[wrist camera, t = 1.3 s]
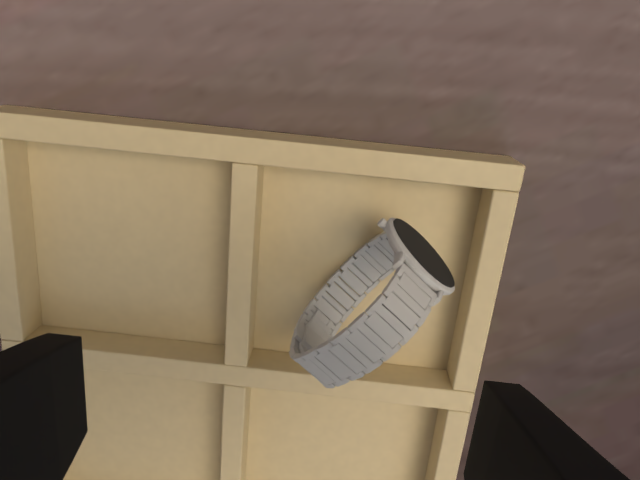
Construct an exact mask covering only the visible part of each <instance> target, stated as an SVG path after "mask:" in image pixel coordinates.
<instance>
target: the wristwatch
mask: <svg viewBox="0 0 640 480" xmlns="http://www.w3.org/2000/svg"><path fill="white" fill-rule="evenodd" d="M377 225H378V226H379V227H380V228H382V229H383V230H384V232H382V233H381V234H378V235H377V236H375V237H374V238H372V239H371V240H369V242H368V243H365V244H364V245H363V246H362V247H360V248H359V249H358V250H357V251H356V252H355V253H354V256H355V257H354V256H353V255H352V256H351V257H349V258H348V259H347V260H346V261H345V262H344V263H343V264H342V265H341V266H340V269H341V270H342V272H341V271H340V270H339V269H338V270H337V271H336V272H335V273H334V274H333V275H332V276H331V277H330V278H329V279H328V281H327V282H326V283H328V284H329V286H328V285H327V284H324V285H323V286H322V288H321V289H320V290H319V291H318V292H317V293H316V295H315V296H314V298H315V299H316V300H315V299H312V300H311V301H310V302H309V304H308V305H307V306H306V308H305V309H304V311H303V314H302V315H301V316H300V318H299V320H298V322H297V324H296V327H295V328H294V333H293V337H292V340H291V344H290V351H289V355H290V357H291V358H292V359H293V360H294V361H295V362H297V363H298V364H300V365H301V366H302V367H303V368H304V369H305V370H307V371H308V372H309V373H310V374H311V375H312V376H314V377H315V378H316V379H317V380H318V381H319V382H320V383H321V384H322V385H323V386H324V387H326V388H334V387H335V386H337V387H338V386H341V385H344V384H346V383H348V382H349V381H350V380H351V381H353V380H356V379H359V378H361V377H363V376H364V375H365V373H366V374H368V373H370V372H372V371H373V370H374V369H376V368H377V367H379V366H380V365H381V364H382V363H383V361H384V362H385V361H387V360H388V359H389V358H390V357H392V356H393V355H394V354H395V353H396V352H397V351H399V350H400V348H401V345H402V346H403V345H405V344H406V343H407V342H408V341H409V340H410V339H411V338H412V337H413V336H414V334H415V333H416V332H417V331H418V329H419V328H418V327H421V325H422V324H423V323H424V322H425V320H426V318H427V317H428V315H429V313H430V312H431V307H432V306H435V305H436V304H437V303H439V302H440V301H441V299H442V296H443V295H450V294H451V293H453V292H454V290H455V286H454V285H455V282H454V278H453V276H452V274H451V272H450V270H449V268H448V267H447V265H446V264H445V262H444V261H443V259H442V258H441V257H440V255H439V254H438V253H437V252H436V250H435V249H434V248H433V247H432V246H431V245H430V244H429V242H428V241H427V240H426V239H425V238H424V237H423V236H422V235H421V234H420V233H419V232H418V231H416V230H415V229H414V228H413V227H412V226H410V225H409V224H408V223H406V222H405V221H403V220H401V219H398V218H390V219H389V220H388V221H386V220H385V219H384V218H382V219H381V220H380V221H379V222H378V223H377ZM394 270H396V271H395V273H394V276H392V278H391V279H390V281H389V282H388V284H387V285H386V287H385V288H384V290H383V291H382V294H383V295H382V294H380V295H379V296H378V297H377V298H376V299H375V300H374V301H373V302H372V303H371V305H370V306H369V307H368V308H367V309H366V310H365V312H366V313H367V314H368V315H367V314H366V313H365V312H363V313H361V314H360V315H359V316H358V317H357V318H356V319H355V320H354V321H353V322H352V323H350V324H349V325H348V328H347V327H346V328H344V329H343V330H342V331H340V332H339V333H338V334H336V333H337V331H338V330H339V328H340V326H341V325H342V323H343V322H344V321H345V320H346V319H347V317H348V316H349V315H350V314H351V313H352V311H353V310H354V309H353V308H352V307H351V306H353V307H354V308H356V307H357V306H358V304H359V303H360V302H361V301H362V300H363V299H364V298H365V297H366V294H365V293H364V292H366V293H367V294H368V293H369V292H371V291H372V290H373V289H374V288H375V287H376V286H377V285H378V284H379V283H380V280H381V281H382V280H383V279H385V278H386V277H387V276H388V275H390V274H391V273H392V272H393V271H394ZM355 275H356V276H357V277H358V278H359V279H360V280H361V281H362V282H361V281H360V280H359V279H358V278H357V277H356V276H355ZM339 276H340V277H341V278H342V279H343V280H344V281H345V282H346V283H347V284H348V285H349V286H350V287H351V288H353V289H354V290H355V291H356V292H357V293H358V294H359V295H358V294H357V293H356V292H354V291H353V290H352V289H351V288H350V287H349V286H348V285H347V284H346V283H345V282H344V281H343V280H341V279H340V278H339ZM378 278H379V279H380V280H379V279H378ZM334 282H335V283H336V284H337V285H338V286H339V287H338V286H337V285H336V284H335V283H334ZM340 287H341V288H342V289H343V290H344V291H345V292H346V293H347V294H348V295H349V296H350V297H351V298H350V297H349V296H348V295H347V294H346V293H345V292H344V291H343V290H342V289H341V288H340ZM326 291H327V292H328V293H329V294H330V295H331V296H330V295H329V294H328V293H327V292H326ZM323 298H324V299H323ZM352 298H353V299H354V300H353V299H352ZM336 300H337V301H338V302H339V303H340V304H341V305H342V306H341V305H340V304H339V303H338V302H337V301H336ZM334 308H335V309H334ZM339 321H340V322H342V323H340V322H339ZM415 325H416V326H415ZM335 334H336V335H335ZM399 343H400V344H401V345H400V344H399Z"/></svg>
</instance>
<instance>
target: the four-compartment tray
mask: <svg viewBox="0 0 640 480" xmlns="http://www.w3.org/2000/svg"><path fill="white" fill-rule="evenodd" d="M524 171H525V166H524V165H523V164H521V163H520V162H518V161H516V160H515V159H513V158H512V157H511V156H504V155H494V154H484V153H474V152H465V151H455V150H445V149H435V148H425V147H416V146H406V145H396V144H386V143H376V142H367V141H357V140H347V139H337V138H327V137H317V136H308V135H298V134H288V133H278V132H268V131H259V130H249V129H239V128H229V127H219V126H210V125H200V124H190V123H180V122H170V121H161V120H151V119H141V118H131V117H121V116H111V115H102V114H92V113H82V112H72V111H62V110H53V109H43V108H33V107H23V106H13V105H1V106H0V336H1V339H2V340H1V346H2V351H3V350H5V349H7V348H10V347H12V346H15V345H17V344H19V343H22V342H24V341H27V340H29V339H32V338H35V337H37V336H40V335H43V334H46V333H54V334H63V335H72V336H81V337H82V352H83V367H84V382H85V397H86V413H87V428H88V431H87V433H86V435H85V438H84V440H83V442H82V444H81V446H80V448H79V450H78V452H77V454H76V456H75V458H74V460H73V462H72V464H71V465H70V467H69V469H68V471H67V473H66V475H65V477H64V479H63V480H456V477H457V472H458V468H459V463H460V459H461V454H462V450H463V445H464V441H465V436H466V432H467V427H468V423H469V418H470V412H471V410H472V405H473V401H474V396H475V390H476V386H477V381H478V377H479V372H480V368H481V363H482V359H483V354H484V350H485V345H486V341H487V336H488V332H489V327H490V323H491V318H492V314H493V309H494V305H495V300H496V296H497V291H498V287H499V282H500V278H501V273H502V269H503V264H504V260H505V255H506V251H507V246H508V242H509V237H510V233H511V228H512V224H513V219H514V215H515V210H516V205H517V201H518V196H519V191H520V189H521V184H522V180H523V175H524ZM382 218H384V219H385V220H386V221H388V220H389V219H390V218H398V219H401V220H403V221H405V222H406V223H408V224H409V225H410V226H412V227H413V228H414V229H415V230H416V231H418V232H419V233H420V234H421V235H422V236H423V237H424V238H425V239H426V240H427V241H428V242H429V244H430V245H431V246H432V247H433V248H434V249H435V250H436V252H437V253H438V254H439V255H440V257H441V258H442V259H443V261H444V262H445V264H446V265H447V267H448V268H449V270H450V272H451V274H452V276H453V278H454V282H455V285H454V286H455V290H454V292H453V293H451V294H450V295H443V296H442V299H441V301H440V302H439V303H437V304H436V305H435V306H432V307H431V312H430V313H429V315H428V317H427V318H426V320H425V322H424V323H423V324H422V325H421V327H418V328H419V329H418V331H417V332H416V333H415V334H414V336H413V337H412V338H411V339H410V340H409V341H408V342H407V343H406V344H405V345H403V346H402V345H401V344H400V343H399V344H400V345H401V348H400V350H399V351H397V352H396V353H395V354H394V355H393V356H392V357H390V358H389V359H388V360H387V361H385V362H384V361H383V363H382V364H381V365H380V366H379V367H377V368H376V369H374V370H373V371H372V372H370V373H368V374H366V373H365V375H364V376H363V377H361V378H359V379H356V380H353V381H351V380H350V381H349V382H348V383H346V384H344V385H341V386H338V387H337V386H335V387H334V388H326V387H324V386H323V385H322V384H321V383H320V382H319V381H318V380H317V379H316V378H315V377H314V376H312V375H311V374H310V373H309V372H308V371H307V370H305V369H304V368H303V367H302V366H301V365H300V364H298V363H297V362H295V361H294V360H293V359H292V358H291V357H290V355H289V351H290V344H291V340H292V337H293V333H294V328H295V327H296V324H297V322H298V320H299V318H300V316H301V315H302V314H303V311H304V309H305V308H306V306H307V305H308V304H309V302H310V301H311V300H312V299H315V298H314V296H315V295H316V293H317V292H318V291H319V290H320V289H321V288H322V286H323V285H324V284H327V285H328V286H329V284H328V283H326V282H327V281H328V279H329V278H330V277H331V276H332V275H333V274H334V273H335V272H336V271H337V270H338V269H339V270H340V271H341V272H342V270H341V269H340V266H341V265H342V264H343V263H344V262H345V261H346V260H347V259H348V258H349V257H351V256H352V255H353V256H354V253H355V252H356V251H357V250H358V249H359V248H360V247H362V246H363V245H364V244H365V243H368V242H369V240H371V239H372V238H374V237H375V236H377V235H378V234H381V233H382V232H384V230H383V229H382V228H380V227H379V226H378V225H377V223H378V222H379V221H380V220H381V219H382ZM354 257H355V256H354ZM395 271H396V270H394V271H393V272H392V273H391V274H390V275H388V276H387V277H386V278H385V279H383V280H382V281H381V280H380V279H379V278H378V279H379V280H380V283H379V284H378V285H377V286H376V287H375V288H374V289H373V290H372V291H371V292H369V293H368V294H367V293H366V292H364V293H365V294H366V297H365V298H364V299H363V300H362V301H361V302H360V303H359V304H358V306H357V307H356V308H354V307H353V306H351V307H352V308H353V309H354V310H353V311H352V313H351V314H350V315H349V316H348V317H347V319H346V320H345V321H344V322H343V323H342V322H340V321H339V322H340V323H342V325H341V326H340V328H339V330H338V331H337V333H336V334H338V333H339V332H340V331H342V330H343V329H344V328H346V327H347V328H348V325H349V324H350V323H352V322H353V321H354V320H355V319H356V318H357V317H358V316H359V315H360V314H361V313H363V312H365V310H366V309H367V308H368V307H369V306H370V305H371V303H372V302H373V301H374V300H375V299H376V298H377V297H378V296H379V295H380V294H382V291H383V290H384V288H385V287H386V285H387V284H388V282H389V281H390V279H391V278H392V276H394V273H395ZM355 276H356V275H355ZM356 277H357V276H356ZM339 278H340V279H341V280H343V279H342V278H341V277H340V276H339ZM357 278H358V277H357ZM358 279H359V278H358ZM359 280H360V279H359ZM343 281H344V280H343ZM360 281H361V280H360ZM344 282H345V281H344ZM361 282H362V281H361ZM334 283H335V282H334ZM345 283H346V282H345ZM335 284H336V283H335ZM346 284H347V283H346ZM336 285H337V284H336ZM347 285H348V284H347ZM337 286H338V285H337ZM348 286H349V285H348ZM338 287H339V286H338ZM349 287H350V286H349ZM340 288H341V287H340ZM350 288H351V287H350ZM341 289H342V288H341ZM351 289H352V290H353V291H354V292H356V291H355V290H354V289H353V288H351ZM342 290H343V289H342ZM343 291H344V290H343ZM326 292H327V291H326ZM344 292H345V291H344ZM327 293H328V292H327ZM345 293H346V292H345ZM356 293H357V292H356ZM328 294H329V293H328ZM346 294H347V293H346ZM357 294H358V293H357ZM329 295H330V294H329ZM347 295H348V294H347ZM358 295H359V294H358ZM382 295H383V294H382ZM330 296H331V295H330ZM348 296H349V295H348ZM349 297H350V296H349ZM350 298H351V297H350ZM323 299H324V298H323ZM352 299H353V298H352ZM315 300H316V299H315ZM353 300H354V299H353ZM336 301H337V300H336ZM337 302H338V301H337ZM338 303H339V302H338ZM339 304H340V303H339ZM340 305H341V304H340ZM341 306H342V305H341ZM334 309H335V308H334ZM365 313H366V312H365ZM366 314H367V313H366ZM367 315H368V314H367ZM415 326H416V325H415ZM336 334H335V335H336Z"/></svg>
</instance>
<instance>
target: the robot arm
mask: <svg viewBox="0 0 640 480" xmlns="http://www.w3.org/2000/svg"><path fill="white" fill-rule="evenodd" d="M87 431H88V428H87V413H86V397H85V382H84V367H83V352H82V337H81V336H72V335H63V334H54V333H46V334H43V335H40V336H37V337H35V338H32V339H29V340H27V341H24V342H22V343H19V344H17V345H15V346H12V347H10V348H7V349H5V350H3V351H0V480H63V479H64V477H65V475H66V473H67V471H68V469H69V467H70V465H71V464H72V462H73V460H74V458H75V456H76V454H77V452H78V450H79V448H80V446H81V444H82V442H83V440H84V438H85V435H86V433H87ZM464 479H465V480H630V479H628V478H627V477H626V476H625V475H624V474H622V473H621V472H620V471H619V470H618V469H616V468H615V467H614V466H613V465H612V464H611V463H609V462H608V461H607V460H606V459H605V458H604V457H602V456H601V455H600V454H599V453H598V452H597V451H596V450H594V449H593V448H592V447H591V446H590V445H589V444H588V443H586V442H585V441H584V440H583V439H582V438H581V437H580V436H579V435H577V434H576V433H575V432H574V431H573V430H572V429H571V428H570V427H568V426H567V425H566V424H565V423H564V422H563V421H562V420H561V419H560V418H558V417H557V416H556V415H555V414H554V413H553V412H552V411H551V410H549V409H548V408H547V407H546V406H545V405H544V404H543V403H542V402H540V401H539V400H538V399H537V398H536V397H535V396H533V395H532V394H531V393H530V392H529V391H527V390H526V389H525V388H524V387H522V386H521V385H520V384H512V383H503V382H494V381H484V385H483V390H482V394H481V399H480V403H479V408H478V412H477V416H476V421H475V425H474V430H473V434H472V439H471V443H470V448H469V452H468V457H467V461H466V466H465V470H464Z"/></svg>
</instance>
